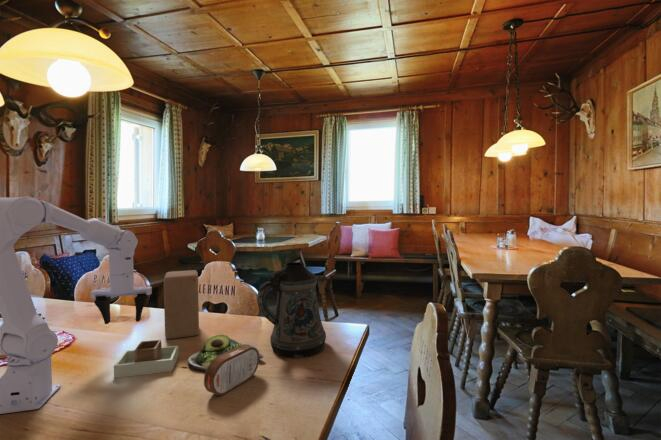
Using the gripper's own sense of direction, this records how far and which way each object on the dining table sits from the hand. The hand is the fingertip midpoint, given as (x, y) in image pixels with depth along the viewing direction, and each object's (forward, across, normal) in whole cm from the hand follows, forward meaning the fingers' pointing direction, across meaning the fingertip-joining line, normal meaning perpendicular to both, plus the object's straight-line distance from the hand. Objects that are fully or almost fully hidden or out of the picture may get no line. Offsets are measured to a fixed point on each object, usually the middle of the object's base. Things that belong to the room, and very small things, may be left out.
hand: (123, 321), depth 96 cm
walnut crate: (+9, -8, +8) cm, 15 cm away
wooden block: (+10, -13, -15) cm, 22 cm away
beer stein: (+10, -47, +7) cm, 49 cm away
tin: (+10, -30, +24) cm, 40 cm away
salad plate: (+10, -27, +8) cm, 30 cm away
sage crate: (+10, -8, +8) cm, 15 cm away
